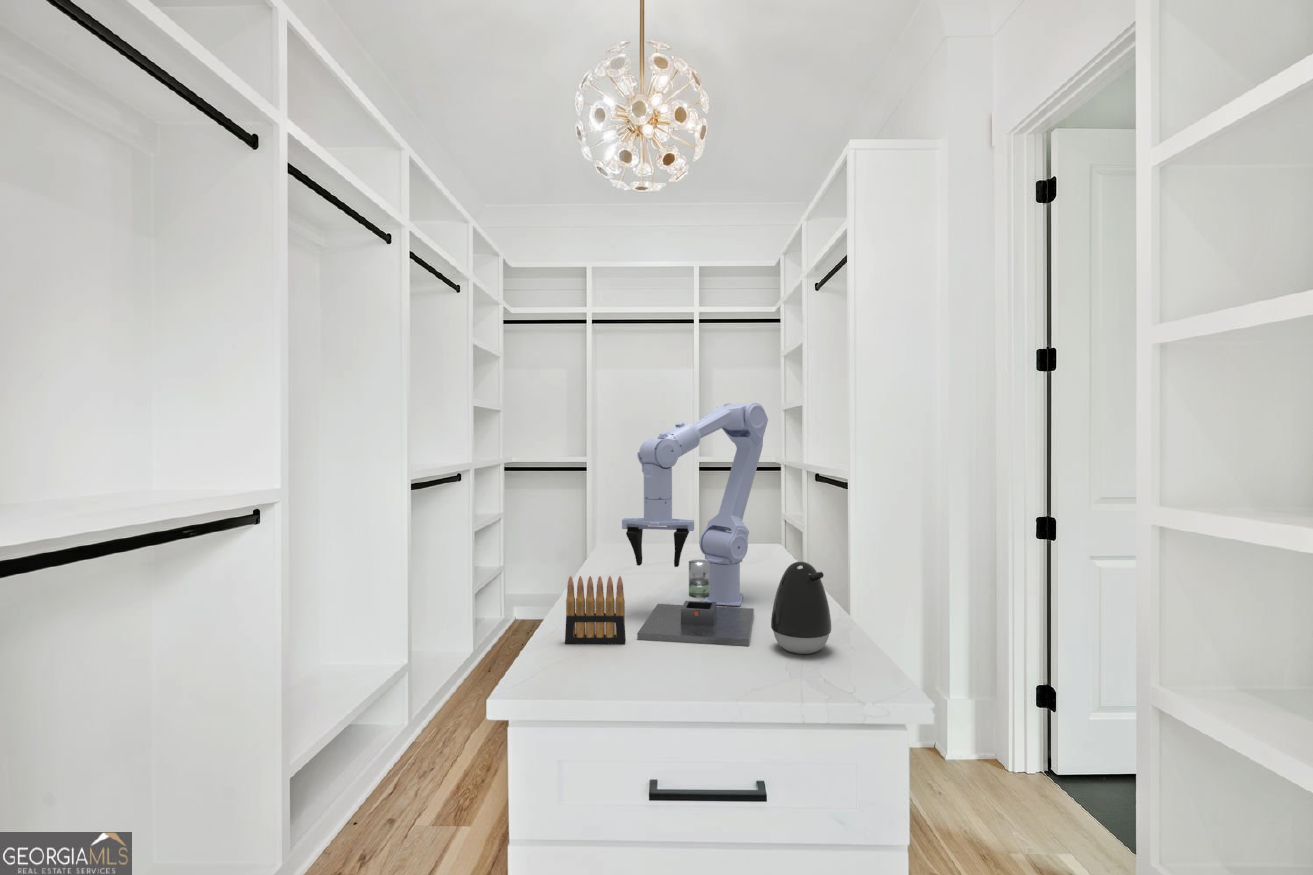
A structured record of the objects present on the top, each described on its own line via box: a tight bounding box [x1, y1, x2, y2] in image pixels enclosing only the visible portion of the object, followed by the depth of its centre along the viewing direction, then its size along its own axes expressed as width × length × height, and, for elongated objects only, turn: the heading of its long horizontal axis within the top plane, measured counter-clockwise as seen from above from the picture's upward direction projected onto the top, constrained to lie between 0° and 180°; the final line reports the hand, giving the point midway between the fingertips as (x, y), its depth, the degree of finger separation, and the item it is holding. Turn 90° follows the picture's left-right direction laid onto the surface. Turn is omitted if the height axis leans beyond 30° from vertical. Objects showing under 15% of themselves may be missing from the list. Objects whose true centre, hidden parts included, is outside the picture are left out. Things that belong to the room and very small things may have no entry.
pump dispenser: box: [770, 561, 832, 655], centre depth 116 cm, size 10×10×15 cm
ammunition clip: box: [564, 575, 627, 646], centre depth 120 cm, size 11×2×12 cm, turn 90°
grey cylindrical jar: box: [688, 559, 710, 599], centre depth 130 cm, size 4×4×6 cm
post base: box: [636, 600, 755, 647], centre depth 130 cm, size 20×20×4 cm
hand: (657, 565), depth 136 cm, fingers open, 7 cm apart
